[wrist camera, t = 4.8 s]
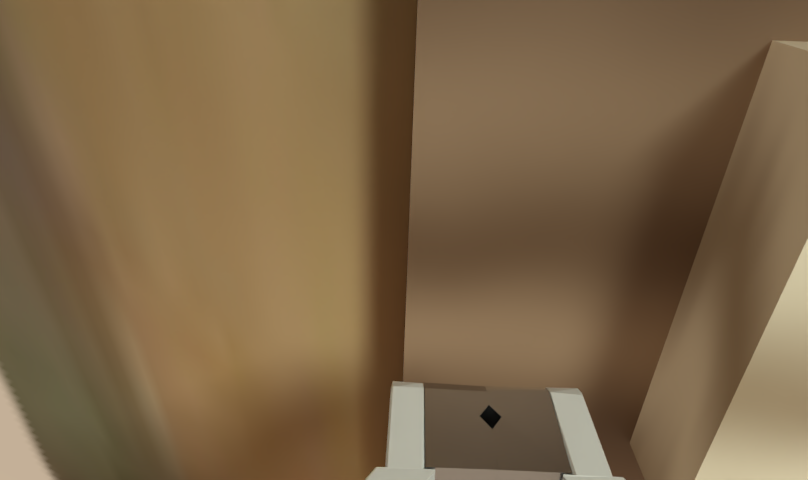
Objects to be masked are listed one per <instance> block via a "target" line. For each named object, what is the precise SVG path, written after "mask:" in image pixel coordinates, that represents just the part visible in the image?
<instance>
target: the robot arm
mask: <svg viewBox="0 0 808 480" xmlns="http://www.w3.org/2000/svg"><path fill="white" fill-rule="evenodd" d="M365 480H626V479H624V478H623V477H613V476H612V473H611V470H610V468H609V465H608V462H607V460H606V457H605V454H604V451H603V449H602V446H601V443H600V440H599V438H598V435H597V432H596V430H595V427H594V424H593V421H592V419H591V416H590V413H589V411H588V408H587V405H586V402H585V400H584V397H583V394H582V393H581V391H580V390H579V389H578V388H541V387H507V386H473V385H457V384H442V383H426V382H424V386H423V383H414V382H400V381H393V382H392V386H391V393H390V407H389V421H388V435H387V449H386V463H385V467H375V468H374V469H373V470H372V472H371V473H370V474H369V475H368V476H367V478H366V479H365Z"/></svg>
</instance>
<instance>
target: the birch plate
mask: <svg viewBox="0 0 808 480" xmlns="http://www.w3.org/2000/svg"><path fill="white" fill-rule="evenodd" d="M630 445H631V448H632V450H633V452H634V455H635V457H636V460H637V462H638V465H639V467H640V469H641V472H642V474H643V477H644V479H645V480H808V42H801V41H773V40H772V43H771V45H770V48H769V51H768V54H767V57H766V60H765V62H764V65H763V68H762V71H761V74H760V76H759V79H758V82H757V85H756V88H755V91H754V93H753V96H752V99H751V102H750V105H749V107H748V110H747V113H746V116H745V119H744V122H743V124H742V127H741V130H740V133H739V136H738V139H737V141H736V144H735V147H734V150H733V153H732V155H731V158H730V161H729V164H728V167H727V170H726V172H725V175H724V178H723V181H722V184H721V186H720V189H719V192H718V195H717V198H716V201H715V203H714V206H713V209H712V212H711V215H710V217H709V220H708V223H707V226H706V229H705V232H704V234H703V237H702V240H701V243H700V246H699V249H698V251H697V254H696V257H695V260H694V263H693V265H692V268H691V271H690V274H689V277H688V280H687V282H686V285H685V288H684V291H683V294H682V296H681V299H680V302H679V305H678V308H677V311H676V313H675V316H674V319H673V322H672V325H671V327H670V330H669V333H668V336H667V339H666V342H665V344H664V347H663V350H662V353H661V356H660V358H659V361H658V364H657V367H656V370H655V373H654V375H653V378H652V381H651V384H650V387H649V390H648V392H647V395H646V398H645V401H644V404H643V406H642V409H641V412H640V415H639V418H638V421H637V423H636V426H635V429H634V432H633V435H632V437H631V440H630Z"/></svg>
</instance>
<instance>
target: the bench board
mask: <svg viewBox="0 0 808 480" xmlns="http://www.w3.org/2000/svg"><path fill="white" fill-rule="evenodd" d="M772 40H773V41H801V42H808V0H418V3H417V29H416V55H415V81H414V107H413V133H412V159H411V185H410V211H409V237H408V263H407V289H406V314H405V340H404V366H403V382H414V383H423V386H424V382H426V383H442V384H457V385H473V386H507V387H541V388H578V389H579V390H580V391H581V393H582V394H583V397H584V400H585V402H586V405H587V408H588V411H589V413H590V416H591V419H592V421H593V424H594V427H595V430H596V432H597V435H598V438H599V440H600V443H601V446H602V449H603V451H604V454H605V457H606V460H607V462H608V465H609V468H610V470H611V473H612V476H613V477H623V478H624V479H626V480H645V479H644V477H643V474H642V472H641V469H640V467H639V465H638V462H637V460H636V457H635V455H634V452H633V450H632V448H631V445H630V440H631V437H632V435H633V432H634V429H635V426H636V423H637V421H638V418H639V415H640V412H641V409H642V406H643V404H644V401H645V398H646V395H647V392H648V390H649V387H650V384H651V381H652V378H653V375H654V373H655V370H656V367H657V364H658V361H659V358H660V356H661V353H662V350H663V347H664V344H665V342H666V339H667V336H668V333H669V330H670V327H671V325H672V322H673V319H674V316H675V313H676V311H677V308H678V305H679V302H680V299H681V296H682V294H683V291H684V288H685V285H686V282H687V280H688V277H689V274H690V271H691V268H692V265H693V263H694V260H695V257H696V254H697V251H698V249H699V246H700V243H701V240H702V237H703V234H704V232H705V229H706V226H707V223H708V220H709V217H710V215H711V212H712V209H713V206H714V203H715V201H716V198H717V195H718V192H719V189H720V186H721V184H722V181H723V178H724V175H725V172H726V170H727V167H728V164H729V161H730V158H731V155H732V153H733V150H734V147H735V144H736V141H737V139H738V136H739V133H740V130H741V127H742V124H743V122H744V119H745V116H746V113H747V110H748V107H749V105H750V102H751V99H752V96H753V93H754V91H755V88H756V85H757V82H758V79H759V76H760V74H761V71H762V68H763V65H764V62H765V60H766V57H767V54H768V51H769V48H770V45H771V43H772Z"/></svg>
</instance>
